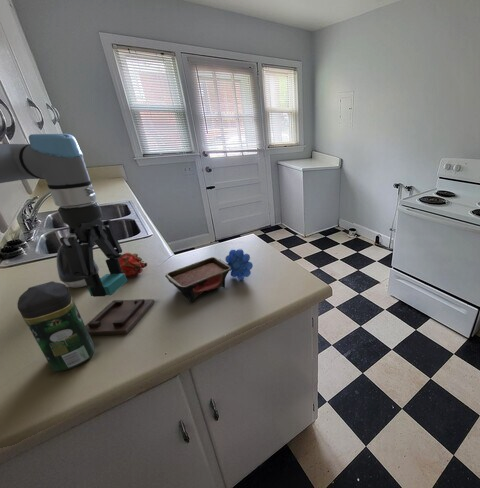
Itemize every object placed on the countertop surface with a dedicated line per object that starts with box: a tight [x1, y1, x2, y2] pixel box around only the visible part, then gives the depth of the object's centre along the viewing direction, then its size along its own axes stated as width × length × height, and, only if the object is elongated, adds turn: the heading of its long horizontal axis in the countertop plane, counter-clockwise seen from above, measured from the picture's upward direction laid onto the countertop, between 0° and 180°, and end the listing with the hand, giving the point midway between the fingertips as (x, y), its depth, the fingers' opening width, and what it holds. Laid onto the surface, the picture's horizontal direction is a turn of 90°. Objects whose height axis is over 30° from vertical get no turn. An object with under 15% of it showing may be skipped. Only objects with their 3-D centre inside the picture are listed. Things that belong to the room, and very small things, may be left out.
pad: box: [87, 273, 128, 297], centre depth 72 cm, size 7×5×3 cm
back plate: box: [84, 298, 155, 336], centre depth 76 cm, size 14×12×2 cm
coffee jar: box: [17, 281, 95, 372], centre depth 60 cm, size 10×8×19 cm
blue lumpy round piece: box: [224, 248, 254, 281], centre depth 94 cm, size 12×7×12 cm, turn 65°
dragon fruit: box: [118, 252, 148, 278], centre depth 98 cm, size 8×8×12 cm
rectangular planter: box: [164, 256, 231, 304], centre depth 89 cm, size 14×18×10 cm
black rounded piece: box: [56, 244, 100, 288], centre depth 90 cm, size 10×10×15 cm
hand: (109, 287), depth 72 cm, fingers closed on pad, 7 cm apart
